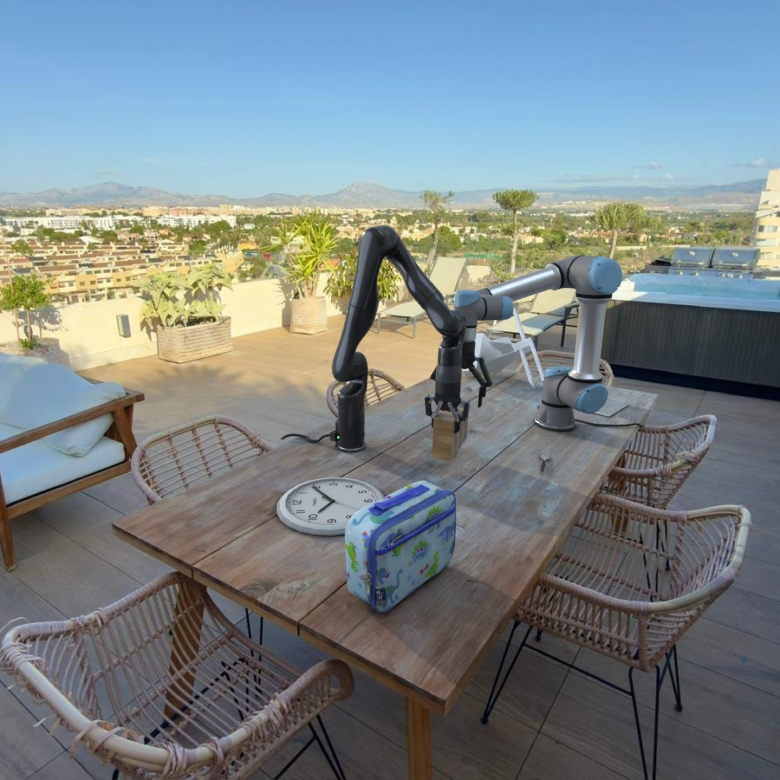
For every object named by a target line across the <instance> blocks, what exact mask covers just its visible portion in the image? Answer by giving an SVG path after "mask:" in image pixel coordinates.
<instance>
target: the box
mask: <svg viewBox="0 0 780 780" xmlns="http://www.w3.org/2000/svg"><path fill="white" fill-rule="evenodd" d="M458 409H459V413H460V416H462V414H463V409H464V408H462V404H459V405H458ZM469 414H470V411H469V412H468V416H467V419H466V420H465V421H461V424H460V430H459V432H457V434H456V433H454V429H455V422H456V421H455V418H454V416H453V415H452V413H451V412H448V411H441V410H440V412H439V413H438V415H437V416H436V417H435V419H434V423H433V428H432V443H431V444H432V448H431V459H433V460H439V461H440V460H441V461H445V462H452V461H453V460H454V458H455V456H456V455H457V453H458V452H459V450H460V449H461V447H462V446H463V444H464V443H465V442H466V440H467V439H468V428H469Z"/></svg>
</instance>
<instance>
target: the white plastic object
mask: <svg viewBox="0 0 780 780" xmlns="http://www.w3.org/2000/svg"><path fill="white" fill-rule="evenodd" d="M512 315H513V317H514V320H515V323H516V326H517V328H518V333H519V336H520V338H521V340H520V341H518V342H515V343H514V342H512V340H511V339H510V337H509V336H505V337H500V338H496V339H490V338H488V336H487V335H486V334H485V333H484V332H476V339H475V340H474V341H475V342H476V344H475V357H481V356H484V358H485V365H486V368H487V370H488V373H489V375H493V376H495V375H498V374H502V373H503V371H502V370H504V369H505V368H507V367H508V366H509V365H511V364H513V363H514V362H516V360H518V359H519V358H520V359H521V361H522V364H523V367H524V370H525V373H526V377H527V379H528V382H529V384H530V386H531V387H532V388H533V389H534V390H536V384H535V380H534V377H533V375H532V374H533V373H532V372H531V368H530V365H529V363H528V358H527V355H526V354H528V353H530V352H531V353H532V356H533V359H534V362H535V365H536V368H537V371H538V374H539V377H540V381H541V382H542V383H543V381H544V374H545V371H544V369H543V366H542V364H541V361H540V358H539V355H538V352H537V349H536V346H535V343H534V341H533V339H532V338H531V337H528V338H527V337H526V334H525V331H524V328H523V325H522V323H521V318H520V316H519V313H518V311H517V309H516V307H515V306H514V309H513V314H512ZM473 364H474V366H475V367H476V369H477V371H478V372H479V374H480V375H481V376H483V373H482V371H481V368H480V365H479V364H478V363H477V361H475V362H474V363H473ZM462 373H463V374H464V375H465V376H466V377H474V375H473V374H472V373H471V372H470V371H469V369H462Z"/></svg>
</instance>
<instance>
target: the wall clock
mask: <svg viewBox="0 0 780 780" xmlns="http://www.w3.org/2000/svg"><path fill="white" fill-rule="evenodd" d="M384 497H386V495H385V494H384V493H383V492H382V491H381V490H380V489H379V488H377V487H376V486H374V485H372V484H371V483H369V482H365V481H362V480H359V479H355V478H349V477H338V476H337V477H335V476H333V477H332V476H331V477H322V478H317V479H312V480H307V481H305V482H302V483H299V484H297V485H295V486H293V487H292V488H290V489H288V490H287V491H286V492H285V493H284V494H283V495H281V496H280V498H279V499H278V502H277V503H276V515H277V517H278V518H279V520H280V521H281V522H282V523H283V524H285V525H286V526H287V527H288V528H290V529H293V530H295V531H297V532H299V533H303V534H308V535H312V536H327V537H328V536H329V537H331V536H332V537H333V536H342V535H345V531H346V527H347V524H348V522H349V520H350V518H351V517H352V515H353V514H354V513H355V512H357V511H358V510H360V509H362V508H364V507H366V506H368V505H370V504H372V503H374V502H376V501H378V500H380V499H382V498H384Z"/></svg>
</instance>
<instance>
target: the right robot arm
mask: <svg viewBox="0 0 780 780" xmlns="http://www.w3.org/2000/svg"><path fill="white" fill-rule="evenodd" d="M622 283H623V271H622V267H621V265H620V264H619V263H618V262H617V261H616V260H615V259H614V258H611V257H606V256H601V255H599V256H598V255H584V254H578V255H572V256H569V257H566V258H563V259H560V260H557V261H554V262H551V263H548V264H546V265H545V266H544V268H542V269H538V270H535V271H533V272H530V273H527V274H526V273H525V274H522V275H520V276H518V277H514V278H511V279H508V280H505V281H502V282H499V283H495V284H493V285H490V286H487V287H484V288H481V289H478V290H474V289H459V290H457V291H456V292H455V295H454V301H453V310H458V311H460V312H462V313H463V314H464V316H465V319H466V331H465V337H464V341H463V346H462V360H461V370H463V369H469V371H470V372H471V373H472V374H473V375H474V376H473V377H474V379H475V380H476V382H477V383H478V384H479V385H480V387H478V397H477V398H478V399H477V408H479V409H480V408H481V407H482V406H483V399H484V398H486V395H487V388H492V386H493V384H494V383H493V379H492V378H491V374H489V373H488V370H487V368H486V365H485V358H484V356H481V357H475V344H476V342H475V341H474V340H475V339H476V333H477V331H478V330H477V329H478V328H477V327H478V322H483V321H505V320H509V319H511V318H512V316H513V315H514V314H513V309H514V307H515V304H514V302H517V301H519V300H522V299H525V298H528V297H531V296H534V295H537V294H540V293H543V292H547V291H549V290H551V291H558V290H562V289H573V290H575V299H577V300H578V302H579V305H578V314H577V315H578V316H577V317H578V318H577V325H576V328H577V329H576V338H575V347H574V355H573V356H574V357H573V366H566V365H565V366H564V365H562V366H561V365H559V366H558V365H557V366H549V367H547V368H546V369H545V370H544V381H543V382H542V394H541V402H540V404H539V405H537V406H536V410H537V411H536V413H535V416H534V424H535V425H536V426H537V427H539V428H542V429H544V430H549V431H556V432H567V431H572V430H574V429H575V428H576V422H577V423H582V424H586V425H588V426H589V425H590V426H595V427H612V428H613V427H615V428H616V427H632V426H638V427H639V428H642V429H643V428H644V426H643V424H642V425H641V424H640V423H637V422H633V423H624V424H623V423H621V424H620V423H619V424H610V423H609V424H605V423H594V422H589V421H586V420H582V419H576V418H575V417H576V416H575V413H574V409H575V410H576V411H577V412H580V413H584V414H587V415H590V414H596V413H595V412H597V411H598V410H600V409H601V407H603V406H604V404H605V403H606V401H607V400H608V399H609V391H608V388H606V386H605V385H604V384H603V379H604V375H603V374H602V373H601V371H600V364H601V355H602V346H603V338H604V331H605V330H604V329H605V319H606V312H607V303H608V302H609V301H612V299H613V294H614V293H615V292H617V291H618V290H619V288H620V287H621V285H622ZM475 361H477V363H478V364H479V365H480V368H481V371H482V373H483V375H480V374H479V372H478V371H477V369H476V367H475V366H474V364H473V363H474V362H475ZM436 368H437V365H436V366H435V367H434V369H433V371H432V373H431V375H430V376H429V379H430V380H433V381H434V382H435V383H434V385H435V384H436Z"/></svg>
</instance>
